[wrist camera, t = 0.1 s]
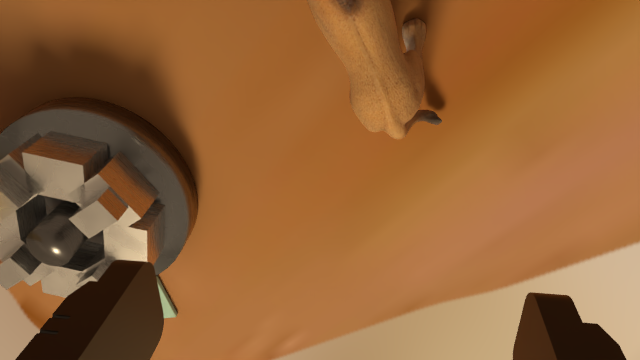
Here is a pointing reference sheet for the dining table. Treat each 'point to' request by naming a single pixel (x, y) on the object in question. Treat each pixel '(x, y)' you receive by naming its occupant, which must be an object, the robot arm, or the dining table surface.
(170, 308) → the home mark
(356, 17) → the lion figurine
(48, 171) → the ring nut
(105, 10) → the dining table surface
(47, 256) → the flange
